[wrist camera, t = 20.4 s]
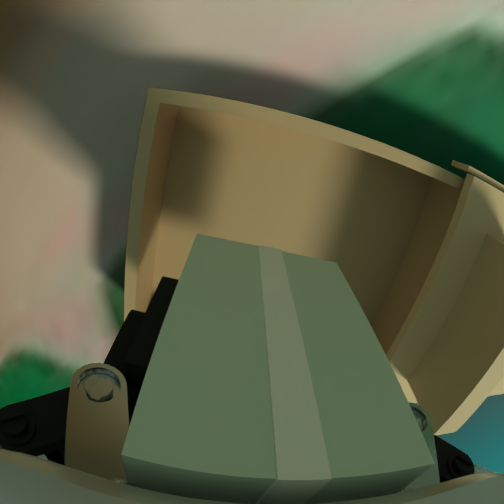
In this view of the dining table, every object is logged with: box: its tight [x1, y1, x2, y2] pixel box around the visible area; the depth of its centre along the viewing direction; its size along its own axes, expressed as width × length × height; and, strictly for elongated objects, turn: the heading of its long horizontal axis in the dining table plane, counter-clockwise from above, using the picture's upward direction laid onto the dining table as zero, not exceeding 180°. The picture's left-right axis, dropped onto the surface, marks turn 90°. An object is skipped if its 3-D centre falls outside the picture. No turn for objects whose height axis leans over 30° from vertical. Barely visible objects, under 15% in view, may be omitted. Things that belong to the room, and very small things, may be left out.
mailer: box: [124, 87, 465, 354], centre depth 17 cm, size 16×14×5 cm
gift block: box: [121, 233, 434, 504], centre depth 8 cm, size 5×5×8 cm
